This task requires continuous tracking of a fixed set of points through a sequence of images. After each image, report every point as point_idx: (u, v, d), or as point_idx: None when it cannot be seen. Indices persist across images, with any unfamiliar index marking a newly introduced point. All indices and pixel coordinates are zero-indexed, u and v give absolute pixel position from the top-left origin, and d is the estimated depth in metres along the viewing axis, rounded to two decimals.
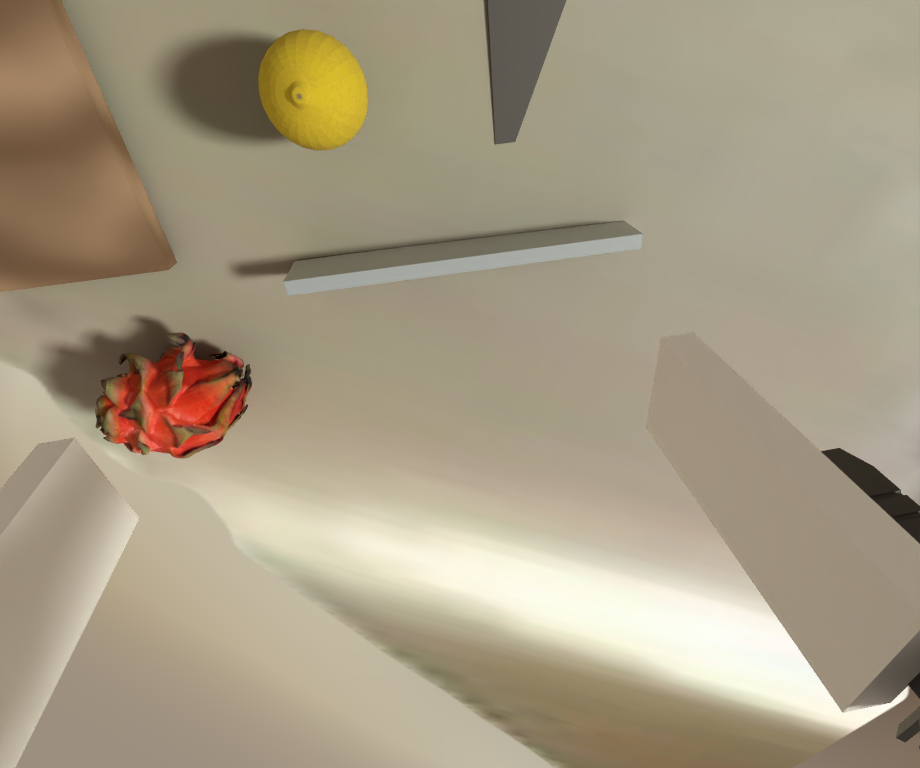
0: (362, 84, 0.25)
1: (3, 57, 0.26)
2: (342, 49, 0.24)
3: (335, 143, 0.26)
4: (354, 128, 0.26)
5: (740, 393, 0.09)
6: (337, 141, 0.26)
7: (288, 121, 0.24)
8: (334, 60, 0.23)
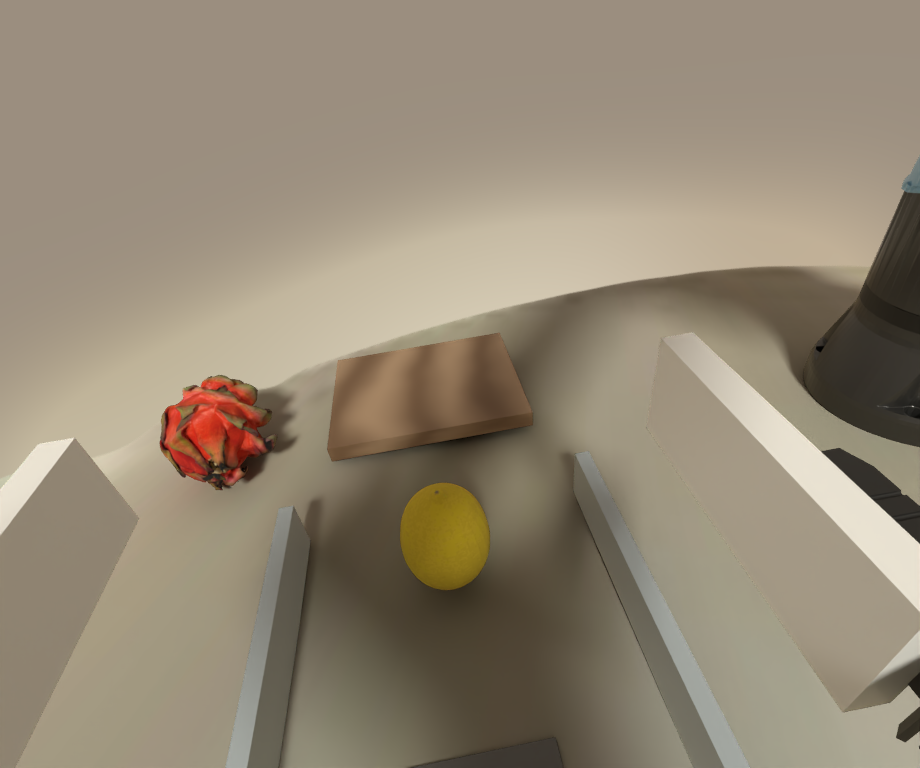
0: (451, 564, 0.27)
1: (463, 399, 0.44)
2: (476, 548, 0.28)
3: (403, 535, 0.28)
4: (415, 554, 0.27)
5: (740, 393, 0.09)
6: (405, 536, 0.28)
7: (420, 492, 0.29)
8: (465, 529, 0.27)
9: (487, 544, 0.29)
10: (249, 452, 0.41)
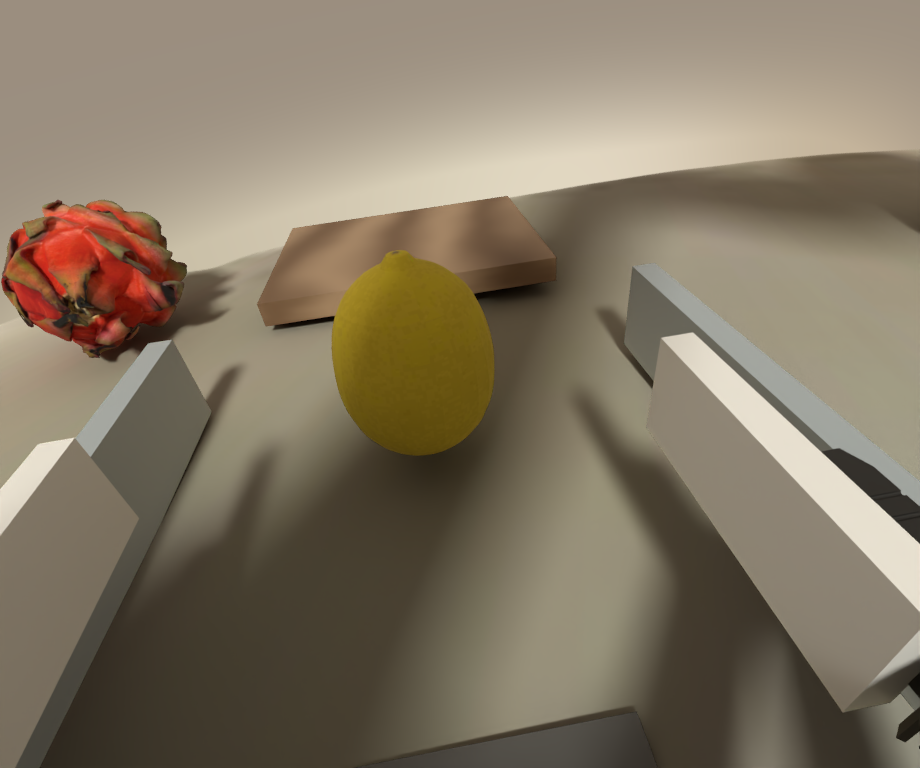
0: (420, 384, 0.14)
1: (456, 251, 0.31)
2: (469, 359, 0.15)
3: (334, 340, 0.15)
4: (353, 366, 0.14)
5: (740, 393, 0.09)
6: (336, 339, 0.15)
7: None
8: (448, 315, 0.14)
9: (490, 367, 0.16)
10: (143, 308, 0.28)
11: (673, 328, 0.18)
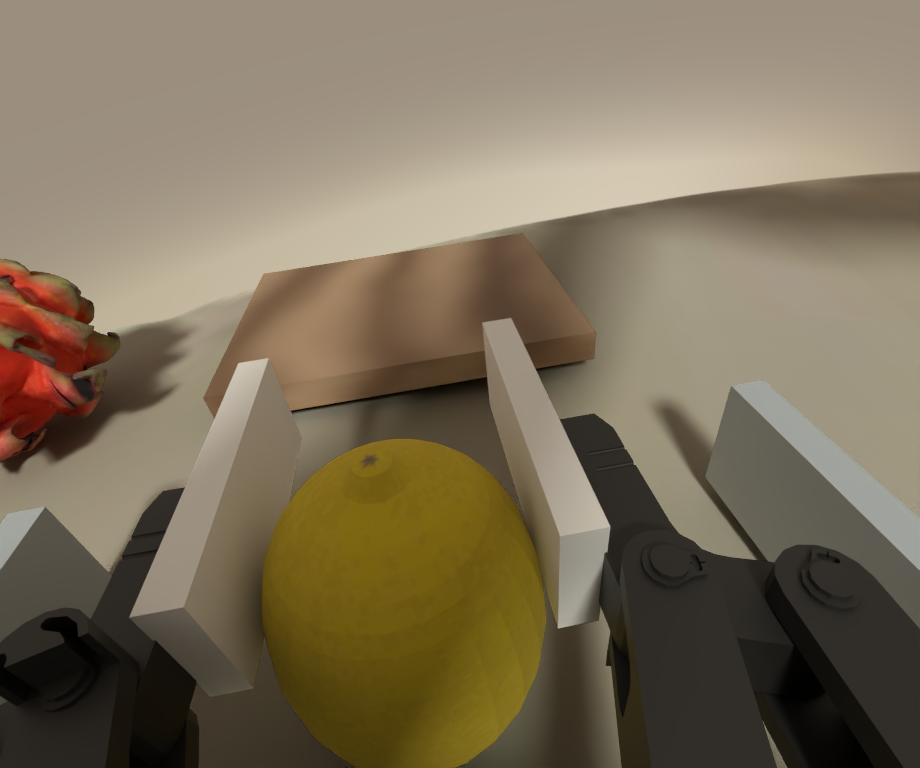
0: (419, 726, 0.07)
1: (464, 317, 0.25)
2: (509, 656, 0.08)
3: (262, 609, 0.08)
4: (292, 682, 0.08)
5: (520, 368, 0.10)
6: (263, 613, 0.08)
7: (327, 465, 0.09)
8: (471, 596, 0.07)
9: (541, 631, 0.09)
10: (53, 403, 0.21)
11: (818, 509, 0.12)
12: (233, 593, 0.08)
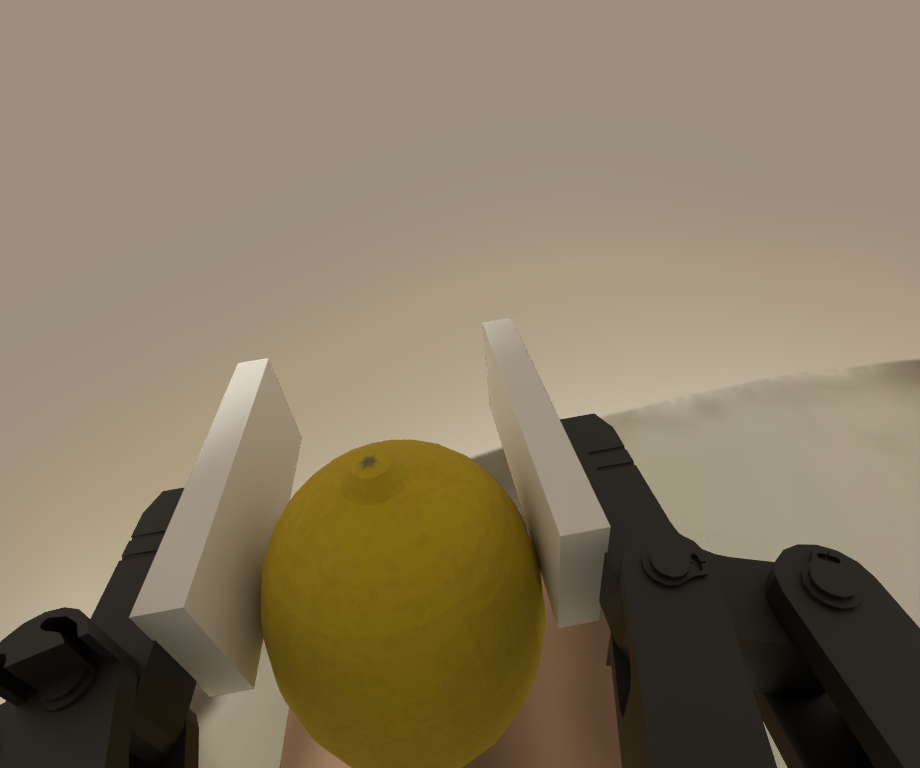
0: (418, 728, 0.07)
1: (581, 746, 0.19)
2: (509, 658, 0.08)
3: None
4: (290, 684, 0.08)
5: (520, 368, 0.10)
6: (262, 615, 0.08)
7: (326, 466, 0.09)
8: (471, 597, 0.07)
9: (541, 632, 0.09)
10: None
11: None
12: (233, 593, 0.08)
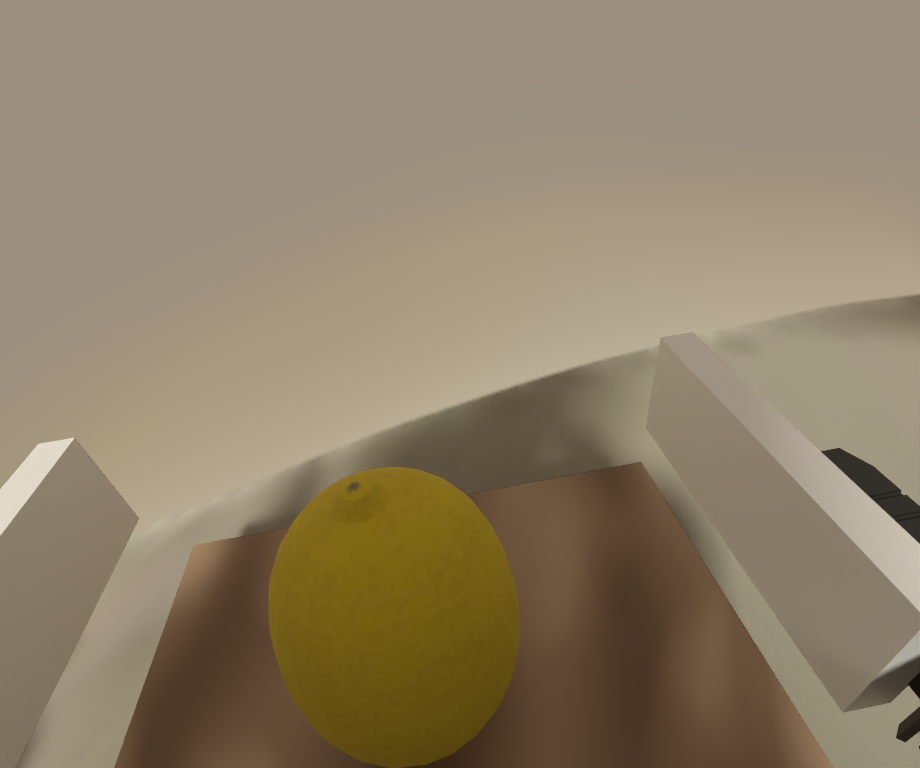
0: (404, 712, 0.09)
1: None
2: (481, 650, 0.09)
3: (269, 621, 0.10)
4: (295, 680, 0.09)
5: (740, 393, 0.09)
6: (270, 623, 0.10)
7: (321, 493, 0.11)
8: (443, 596, 0.09)
9: (514, 629, 0.10)
10: None
11: None
12: None
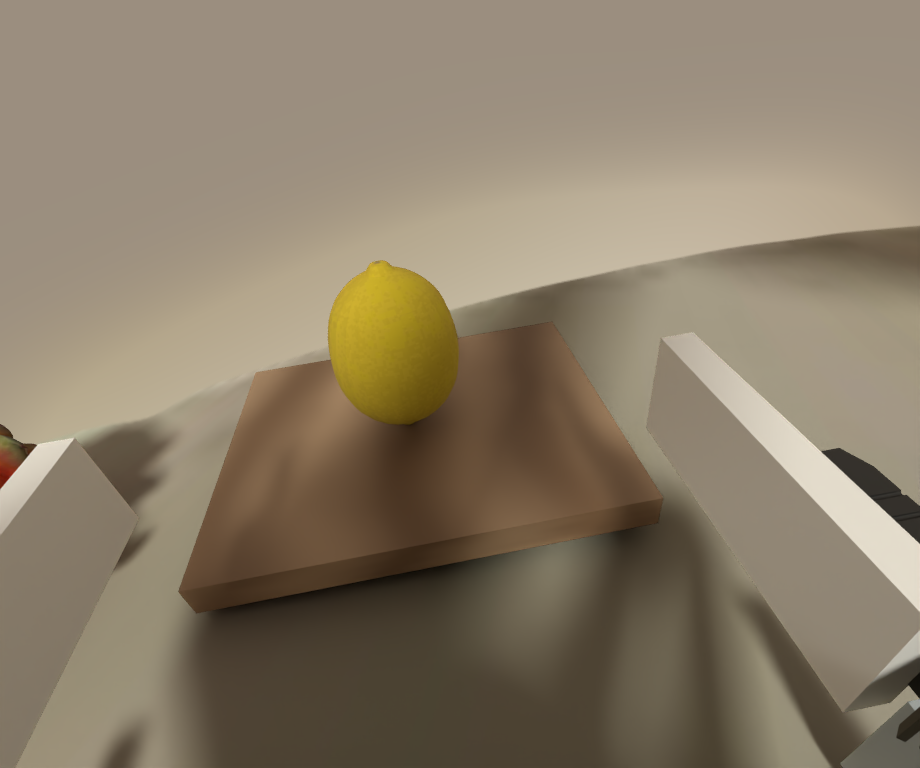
0: (397, 363, 0.18)
1: (497, 461, 0.20)
2: (435, 344, 0.19)
3: (330, 331, 0.19)
4: (345, 351, 0.19)
5: (740, 393, 0.09)
6: (331, 330, 0.19)
7: None
8: (418, 311, 0.18)
9: (454, 351, 0.20)
10: None
11: None
12: None
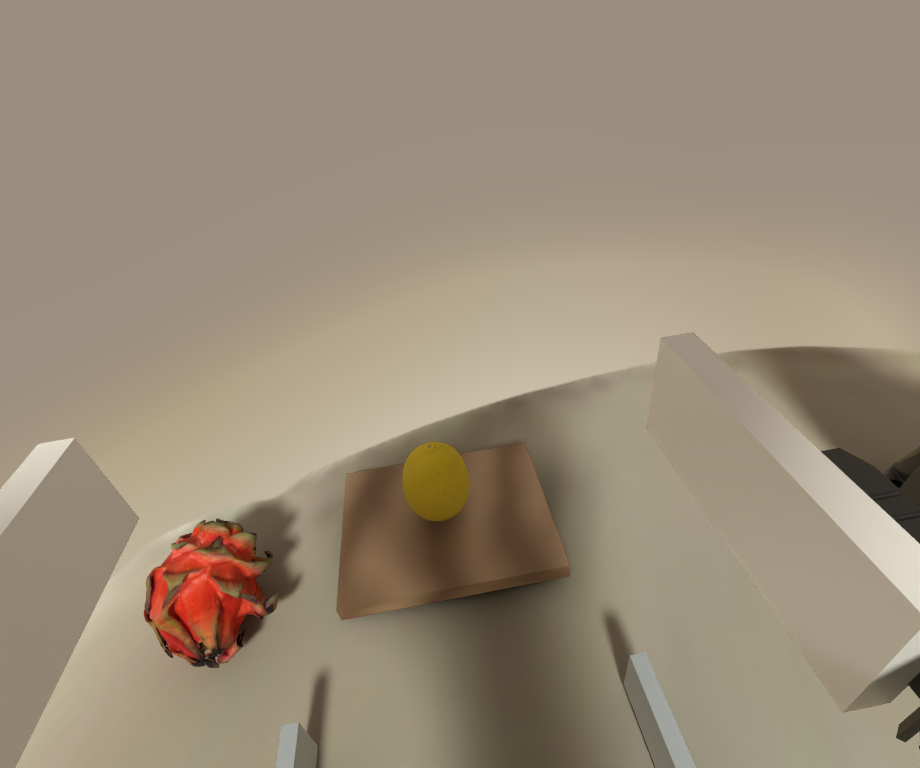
0: (440, 498, 0.37)
1: (489, 541, 0.39)
2: (458, 487, 0.38)
3: (405, 479, 0.38)
4: (413, 491, 0.37)
5: (740, 393, 0.09)
6: (406, 479, 0.38)
7: (417, 447, 0.39)
8: (450, 472, 0.37)
9: (467, 486, 0.39)
10: (247, 613, 0.36)
11: (658, 737, 0.26)
12: None
